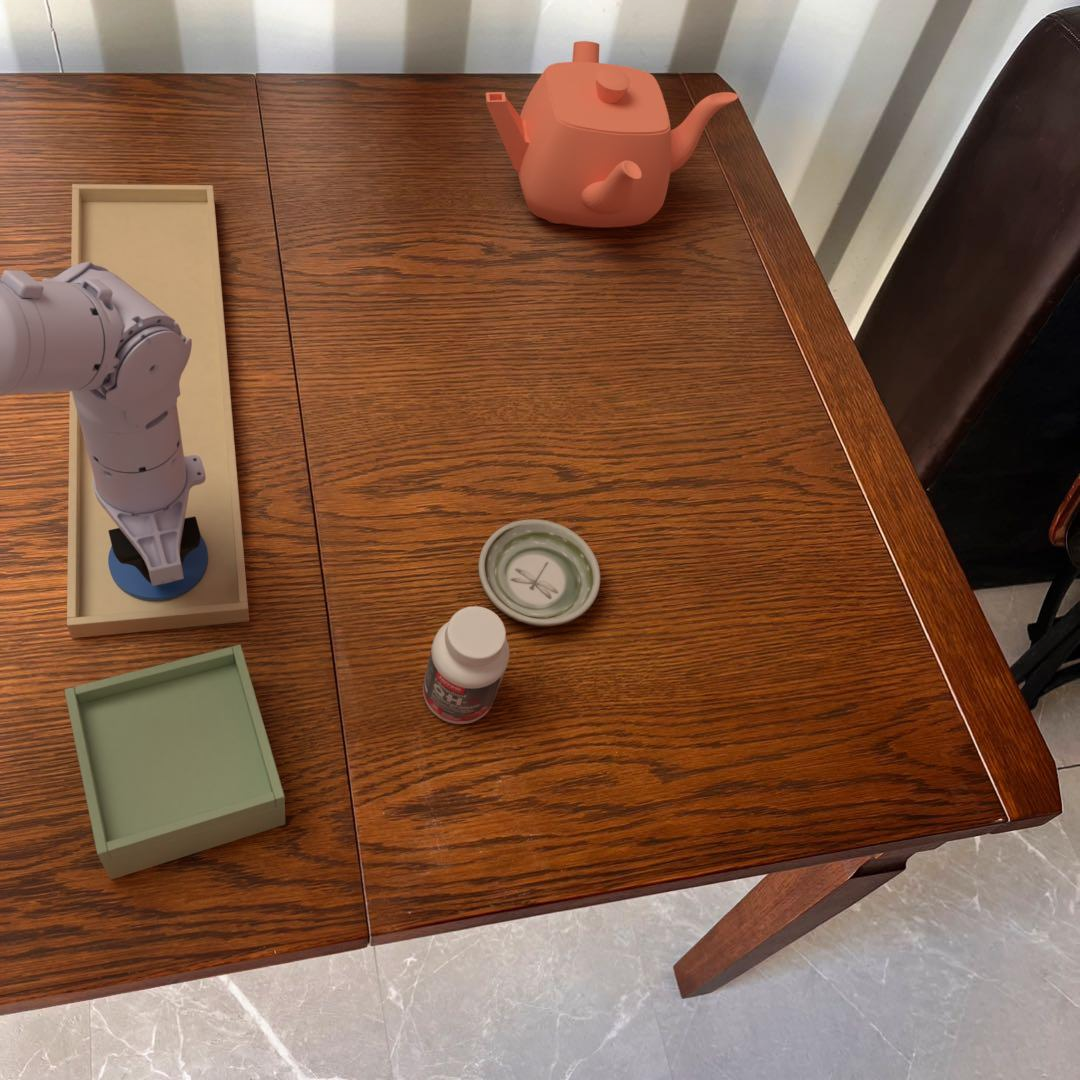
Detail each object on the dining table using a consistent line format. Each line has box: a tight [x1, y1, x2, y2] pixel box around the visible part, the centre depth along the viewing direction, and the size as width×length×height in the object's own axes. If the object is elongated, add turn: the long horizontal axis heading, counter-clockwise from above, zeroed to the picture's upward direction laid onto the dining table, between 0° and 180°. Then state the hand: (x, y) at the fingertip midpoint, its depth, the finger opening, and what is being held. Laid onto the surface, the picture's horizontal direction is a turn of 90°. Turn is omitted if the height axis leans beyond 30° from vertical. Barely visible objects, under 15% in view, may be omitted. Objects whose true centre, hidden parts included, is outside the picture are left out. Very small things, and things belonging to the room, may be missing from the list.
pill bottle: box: [422, 605, 510, 725], centre depth 76 cm, size 5×5×10 cm
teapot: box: [485, 40, 739, 228], centre depth 108 cm, size 18×18×14 cm
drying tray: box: [66, 183, 250, 639], centre depth 89 cm, size 45×12×2 cm, turn 12°
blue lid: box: [108, 535, 208, 602], centre depth 79 cm, size 7×7×5 cm
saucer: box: [477, 518, 601, 627], centre depth 85 cm, size 10×10×2 cm
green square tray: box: [64, 644, 286, 881], centre depth 71 cm, size 11×11×6 cm
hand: (156, 550), depth 80 cm, fingers open, 4 cm apart
